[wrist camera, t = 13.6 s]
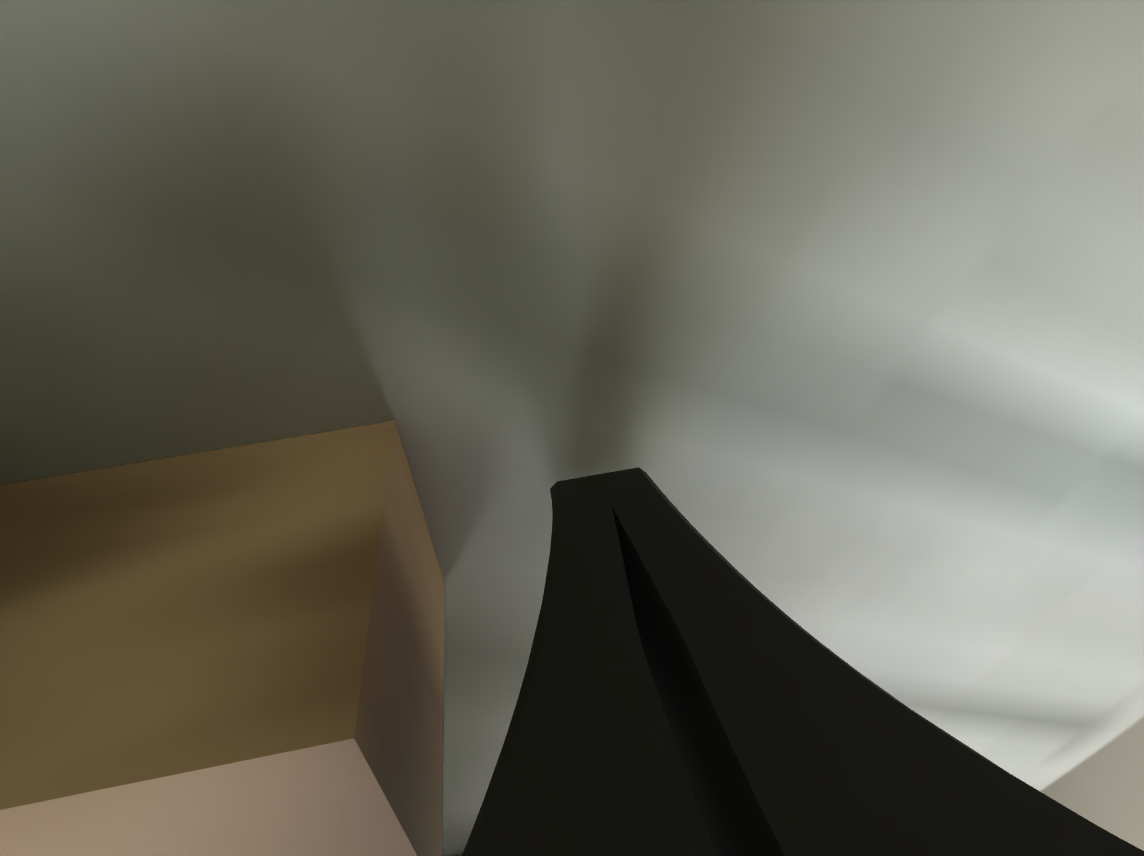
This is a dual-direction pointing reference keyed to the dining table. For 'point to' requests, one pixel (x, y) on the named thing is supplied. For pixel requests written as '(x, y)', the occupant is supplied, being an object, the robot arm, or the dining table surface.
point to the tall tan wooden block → (223, 655)
